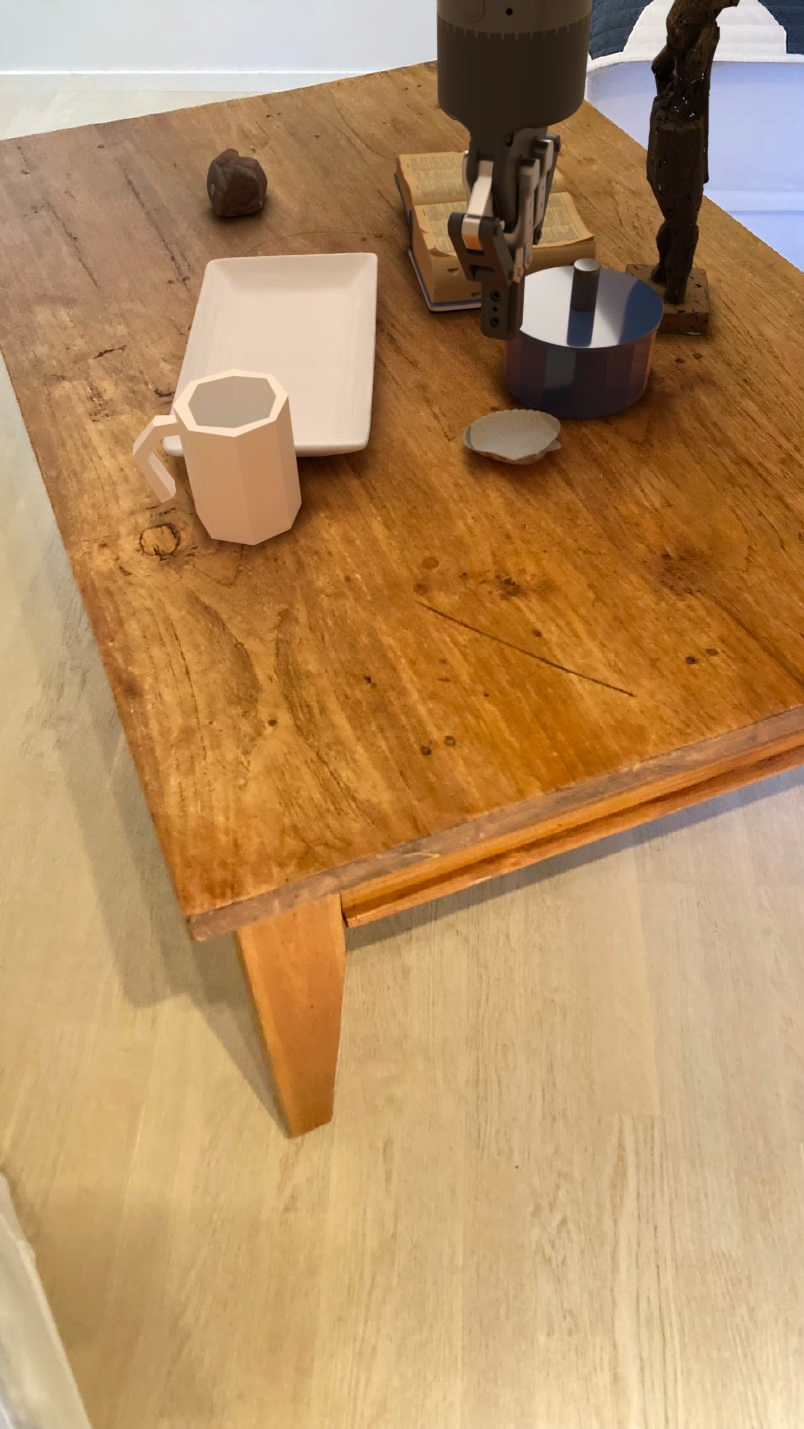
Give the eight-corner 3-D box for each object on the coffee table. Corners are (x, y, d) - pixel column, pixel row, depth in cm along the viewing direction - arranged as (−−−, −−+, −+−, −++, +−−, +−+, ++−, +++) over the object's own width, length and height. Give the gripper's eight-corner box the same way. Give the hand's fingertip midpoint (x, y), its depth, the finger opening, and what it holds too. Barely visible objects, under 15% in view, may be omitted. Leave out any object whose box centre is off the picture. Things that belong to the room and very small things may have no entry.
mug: (298, 471, 86) (285, 364, 79) (304, 540, 81) (291, 431, 73) (151, 485, 86) (123, 378, 78) (147, 555, 80) (117, 447, 73)
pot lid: (676, 291, 92) (685, 239, 88) (641, 372, 84) (650, 319, 80) (528, 267, 95) (531, 216, 92) (481, 343, 87) (483, 291, 84)
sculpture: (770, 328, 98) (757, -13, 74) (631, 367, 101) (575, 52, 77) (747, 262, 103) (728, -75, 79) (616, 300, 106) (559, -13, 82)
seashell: (531, 436, 92) (446, 434, 89) (539, 401, 90) (453, 399, 87) (573, 477, 86) (483, 477, 83) (582, 441, 84) (491, 440, 81)
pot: (659, 354, 96) (671, 286, 91) (627, 431, 89) (639, 362, 84) (527, 331, 99) (531, 264, 94) (485, 404, 92) (487, 335, 87)
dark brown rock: (215, 136, 117) (215, 158, 109) (272, 161, 119) (276, 183, 112) (199, 191, 120) (199, 215, 113) (255, 213, 123) (258, 239, 115)
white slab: (165, 483, 86) (156, 448, 83) (212, 288, 106) (207, 254, 103) (372, 480, 85) (370, 444, 83) (380, 284, 106) (379, 250, 103)
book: (595, 296, 103) (603, 236, 98) (428, 314, 102) (427, 253, 97) (536, 186, 119) (540, 129, 114) (391, 200, 118) (389, 143, 113)
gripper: (550, 53, 46) (528, 402, 59) (623, -34, 54) (590, 291, 67) (390, 38, 48) (404, 379, 61) (484, -43, 56) (478, 274, 69)
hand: (501, 332), depth 64 cm, fingers closed
